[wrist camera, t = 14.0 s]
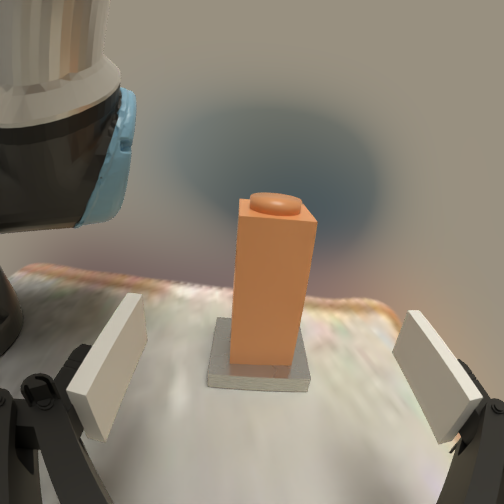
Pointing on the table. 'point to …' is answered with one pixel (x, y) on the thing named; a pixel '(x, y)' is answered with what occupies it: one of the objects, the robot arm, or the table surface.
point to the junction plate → (255, 367)
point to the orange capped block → (270, 278)
